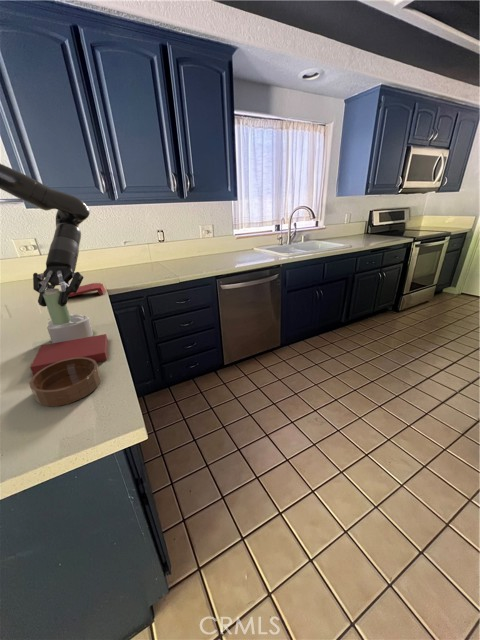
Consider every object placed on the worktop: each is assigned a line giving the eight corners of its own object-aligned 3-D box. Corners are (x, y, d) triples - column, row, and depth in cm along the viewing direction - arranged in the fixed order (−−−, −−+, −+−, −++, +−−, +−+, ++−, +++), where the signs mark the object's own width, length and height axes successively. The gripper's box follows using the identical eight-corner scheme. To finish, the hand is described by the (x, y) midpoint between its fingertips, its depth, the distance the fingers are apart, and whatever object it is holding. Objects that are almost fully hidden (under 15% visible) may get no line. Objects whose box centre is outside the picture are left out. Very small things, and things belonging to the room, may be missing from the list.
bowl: (28, 415, 64) (21, 399, 62) (43, 378, 77) (38, 364, 75) (99, 397, 70) (95, 382, 68) (102, 366, 83) (98, 352, 81)
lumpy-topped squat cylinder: (54, 336, 101) (47, 315, 98) (92, 328, 107) (87, 309, 103) (52, 348, 93) (44, 326, 89) (93, 339, 99) (87, 318, 95)
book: (33, 375, 79) (29, 367, 78) (43, 352, 90) (40, 345, 89) (106, 360, 86) (104, 352, 85) (107, 341, 98) (106, 333, 96)
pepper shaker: (51, 326, 78) (39, 294, 73) (54, 319, 82) (43, 289, 78) (69, 323, 79) (59, 291, 75) (72, 317, 83) (62, 286, 79)
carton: (53, 307, 138) (102, 295, 144) (48, 299, 136) (99, 286, 142) (59, 300, 149) (105, 288, 154) (55, 292, 146) (102, 280, 152)
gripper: (31, 248, 78) (16, 300, 73) (80, 247, 79) (69, 299, 73) (48, 262, 85) (35, 310, 80) (92, 261, 86) (84, 309, 80)
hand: (52, 305), depth 76 cm, fingers closed on pepper shaker, 4 cm apart
